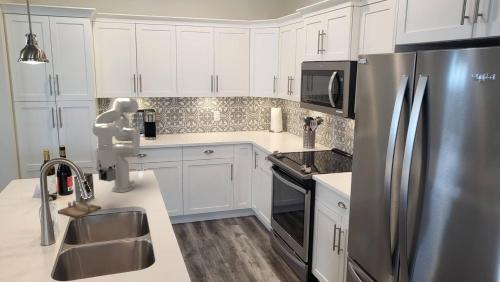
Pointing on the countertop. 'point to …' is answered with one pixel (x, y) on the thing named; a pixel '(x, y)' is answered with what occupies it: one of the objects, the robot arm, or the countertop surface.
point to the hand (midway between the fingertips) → (107, 178)
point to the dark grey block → (109, 174)
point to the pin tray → (78, 209)
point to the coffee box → (77, 188)
